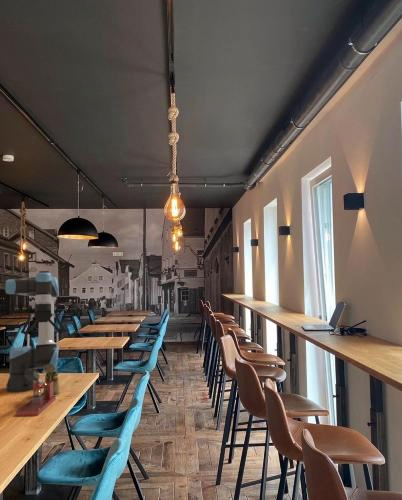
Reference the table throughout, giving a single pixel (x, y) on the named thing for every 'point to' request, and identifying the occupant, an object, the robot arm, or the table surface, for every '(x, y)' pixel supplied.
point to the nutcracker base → (38, 407)
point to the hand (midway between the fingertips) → (43, 347)
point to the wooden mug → (51, 378)
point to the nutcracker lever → (34, 378)
